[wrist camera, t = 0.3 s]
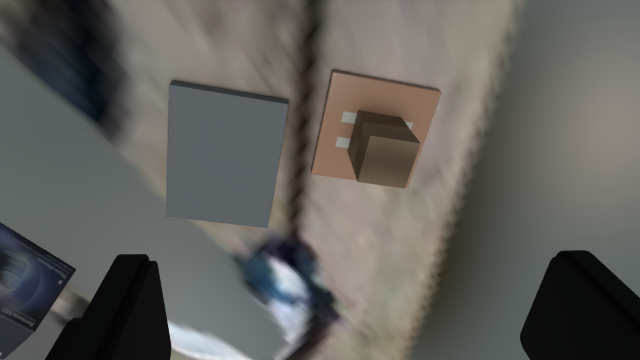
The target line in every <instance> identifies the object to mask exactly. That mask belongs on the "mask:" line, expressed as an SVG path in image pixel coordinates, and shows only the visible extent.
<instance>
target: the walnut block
mask: <svg viewBox="0 0 640 360" xmlns="http://www.w3.org/2000/svg"><path fill="white" fill-rule="evenodd" d="M420 144H421V143H420V142H419V141H418V139H417V138H416V136H415V135H414V134H413V132H412V131H411V130H410V128H409V127H408V126H407V124H406V123H405V122H404V120H403V119H402V117H396V116H390V115H384V114H378V113H372V112H366V111H360V110H358V112H357V116H356V120H355V124H354V127H353V131H352V135H351V139H350V143H349V147H348V151H347V152H348V155H349V158H350V161H351V164H352V167H353V170H354V173H355V176H356V179H357V182H362V183H370V184H377V185H384V186H391V187H398V188H405V187H406V184H407V181H408V179H409V176H410V173H411V170H412V167H413V164H414V161H415V158H416V156H417V153H418V150H419V147H420Z"/></svg>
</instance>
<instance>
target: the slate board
mask: <svg viewBox="0 0 640 360" xmlns="http://www.w3.org/2000/svg"><path fill="white" fill-rule="evenodd" d="M288 105H289V103H288V100H286V99H280V98H274V97H268V96H262V95H256V94H250V93H244V92H238V91H232V90H227V89H221V88H215V87H209V86H203V85H197V84H191V83H185V82H179V81H172V82H171V83H170V84H169V110H168V154H167V197H166V216H167V217H176V218H184V219H193V220H202V221H211V222H220V223H228V224H237V225H246V226H255V227H264V228H268V222H269V217H270V211H271V205H272V199H273V193H274V187H275V181H276V175H277V170H278V164H279V158H280V152H281V146H282V140H283V134H284V128H285V123H286V117H287V111H288Z"/></svg>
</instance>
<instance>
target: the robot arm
mask: <svg viewBox="0 0 640 360" xmlns="http://www.w3.org/2000/svg"><path fill="white" fill-rule="evenodd" d="M520 340H521V344H522V347H523V349H524V351H525V352H526V354H527V355H528V357H529V359H530V360H640V298H639V297H638V296H637V295H636V294H635V293H634V292H633V291H632V290H631V289H630V288H628V287H627V286H626V285H625V284H624V283H623V282H622V281H621V280H620V279H619V278H618V277H617V276H616V275H614V274H613V273H612V272H611V271H610V270H609V269H608V268H607V267H606V266H605V265H604V264H602V262H600V261H599V260H598V259H597V258H596V257H595V256H594V255H593V254H591V253H590V252H589V251H585V250H581V251H580V250H579V251H578V250H575V251H574V250H572V251H560V252H559V253H558V254H557V255H556V257H554V258H552V260H551V261H550V263H549V266H548V268H547V270H546V273H545V275H544V278H543V280H542V282H541V285H540V287H539V290H538V292H537V295H536V297H535V300H534V302H533V304H532V307H531V309H530V312H529V314H528V316H527V319H526V321H525V323H524V326H523V329H522V331H521V334H520ZM170 356H171V340H170V334H169V328H168V323H167V317H166V311H165V305H164V299H163V293H162V287H161V281H160V275H159V270H158V265H157V262H156V261H149V257H148V256H147V255H146V254H121V255H118V256H117V257H116V258H115V260H114V262H113V263H112V265H111V267H110V269H109V270H108V272H107V274H106V276H105V278H104V279H103V281H102V283H101V285H100V286H99V288H98V290H97V292H96V293H95V295H94V297H93V299H92V301H91V302H90V304H89V306H88V308H87V309H86V311H85V313H84V315H83V317H82V318H73V319H72V320H70V321H69V322H68V323H67V324H66V326H65V327H64V328H63V330H62V332H61V333H60V335H59V337H58V338H57V340H56V342H55V344H54V345H53V347H52V349H51V350H50V352H49V354H48V355H47V357H46V359H45V360H170Z"/></svg>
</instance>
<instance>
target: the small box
mask: <svg viewBox="0 0 640 360" xmlns="http://www.w3.org/2000/svg"><path fill="white" fill-rule="evenodd" d="M75 271H76V269H75V268H73V267H72V266H70V265H69V264H67V263H65V262H64V261H62V260H61V259H59V258H57V257H56V256H54V255H52V254H51V253H49V252H47V251H46V250H44V249H42V248H41V247H39V246H37V245H36V244H34V243H33V242H31V241H30V240H28V239H26V238H25V237H23V236H21V235H20V234H18V233H16V232H15V231H13V230H12V229H10V228H9V227H7V226H5V225H4V224H2V223H1V222H0V359H6V358H7V357H8V356H9V355H10V354H11V353H12V352H13V351H15V350H16V349H17V348H18V347H19V346H20V345H21V344H22V343H24V342H25V341H26V340H27V339H28V338H29V337H30V336H31V335H33V334H34V332H35V331H36V329H37V328H38V326H39V324H40V323H41V321H42V320H43V319H44V317H45V316H46V314H47V313H48V311H49V310H50V308H51V307H52V305H53V303H54V302H55V301H56V299H57V297H58V296H59V295H60V293H61V292H62V290H63V289H64V287H65V285H66V284H67V282H68V281H69V280H70V278H71V277H72V275H73V274H74V272H75Z"/></svg>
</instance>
